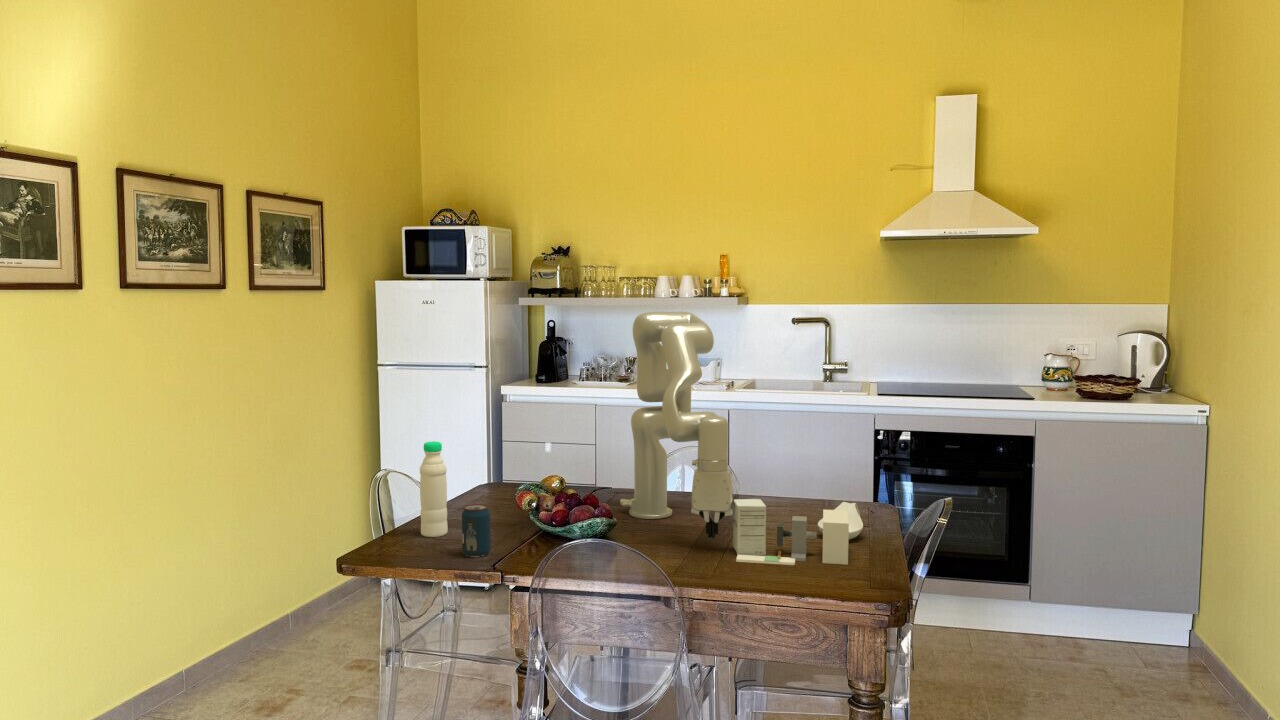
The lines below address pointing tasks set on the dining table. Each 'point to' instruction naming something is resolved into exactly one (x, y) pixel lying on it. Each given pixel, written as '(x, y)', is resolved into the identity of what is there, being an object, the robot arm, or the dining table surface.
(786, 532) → the plunger
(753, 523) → the supplement box
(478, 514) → the soda can
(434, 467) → the cream plastic bottle
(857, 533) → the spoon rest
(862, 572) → the dining table surface
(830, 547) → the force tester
